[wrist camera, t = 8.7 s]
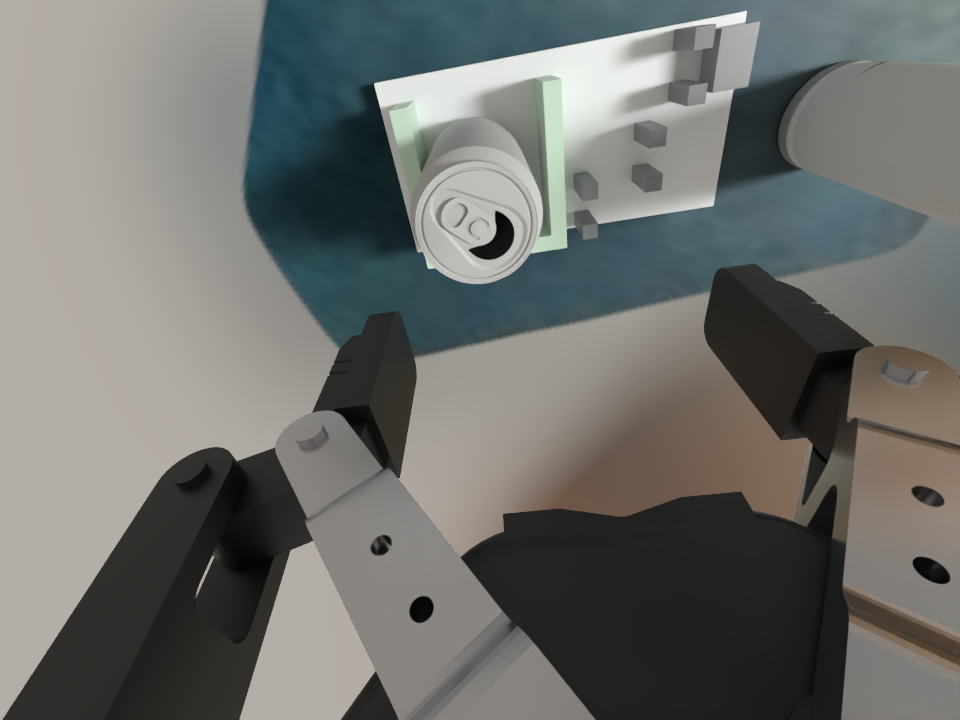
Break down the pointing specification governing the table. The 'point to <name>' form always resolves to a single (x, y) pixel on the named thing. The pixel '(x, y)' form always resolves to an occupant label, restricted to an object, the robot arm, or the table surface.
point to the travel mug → (882, 132)
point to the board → (604, 114)
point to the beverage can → (476, 203)
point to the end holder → (549, 155)
